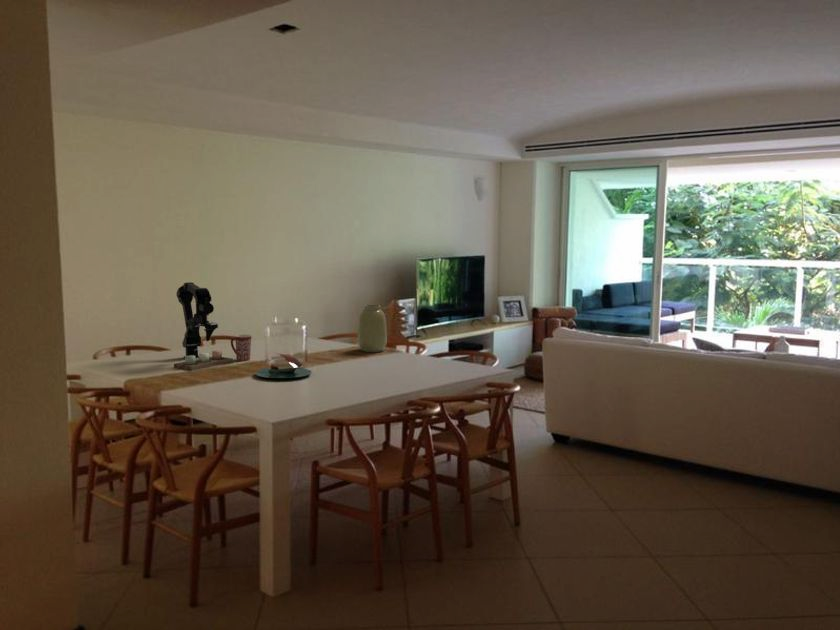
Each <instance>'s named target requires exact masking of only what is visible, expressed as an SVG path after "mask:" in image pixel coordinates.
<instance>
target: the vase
mask: <svg viewBox="0 0 840 630" xmlns="http://www.w3.org/2000/svg"><path fill="white" fill-rule="evenodd" d="M381 308H382V307H381V305H380V304H365V305H364V309H363V310H362V311H361V313H360V315H359V320H358V326H357V327H358V329H357V330H358V331H357V343H358V347H359V349H360V351H362V352H364V353H365V352H366V353H379V352H383V351H384V350H385V348H386V347H387V342H388V340H387V338H388V337H387V336H388V331H387V329H388V328H387V318H386V315H385V312H384V311H383V310H382V309H381Z"/></svg>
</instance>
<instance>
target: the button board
mask: <svg viewBox="0 0 840 630" xmlns="http://www.w3.org/2000/svg"><path fill="white" fill-rule="evenodd" d="M195 359H196V364H193V365H187V364H186V362H185V361H181V362H176V363H173V369H181V370H186V371H197V370H203V369H207V368H212V367H219V366H223V365H228V364H232V363H234V358H231V357H224V356H222V359H218V360H214V359H212V356H209V361H208V362H199V358H195Z"/></svg>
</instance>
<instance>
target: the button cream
mask: <svg viewBox="0 0 840 630" xmlns="http://www.w3.org/2000/svg"><path fill="white" fill-rule="evenodd" d="M198 356H199V357H198V359H199V362H208V361H209V357H210V353H209V352H202V353H198Z"/></svg>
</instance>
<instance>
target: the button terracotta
mask: <svg viewBox="0 0 840 630" xmlns="http://www.w3.org/2000/svg"><path fill="white" fill-rule="evenodd" d="M211 353H212V356H211V357H212V359H214V360H218V359H222V357H223V351H222V350H212V352H211Z"/></svg>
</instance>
